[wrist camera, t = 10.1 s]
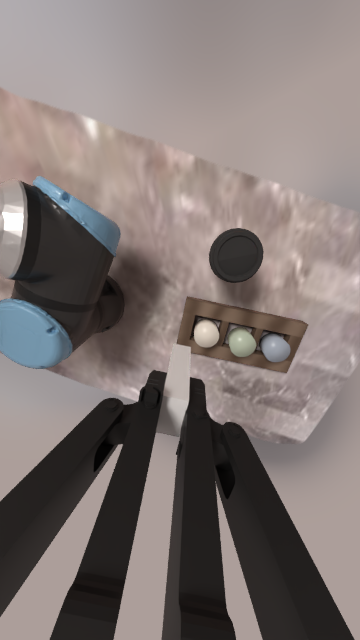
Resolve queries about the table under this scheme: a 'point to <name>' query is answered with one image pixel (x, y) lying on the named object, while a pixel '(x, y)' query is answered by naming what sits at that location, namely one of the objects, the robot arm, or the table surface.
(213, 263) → the coffee cup
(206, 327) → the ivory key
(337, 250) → the table surface
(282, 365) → the wooden tray
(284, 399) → the table surface
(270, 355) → the pale blue rounded knob
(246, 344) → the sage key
